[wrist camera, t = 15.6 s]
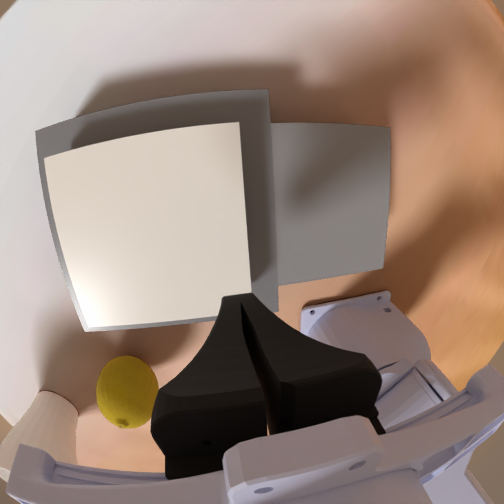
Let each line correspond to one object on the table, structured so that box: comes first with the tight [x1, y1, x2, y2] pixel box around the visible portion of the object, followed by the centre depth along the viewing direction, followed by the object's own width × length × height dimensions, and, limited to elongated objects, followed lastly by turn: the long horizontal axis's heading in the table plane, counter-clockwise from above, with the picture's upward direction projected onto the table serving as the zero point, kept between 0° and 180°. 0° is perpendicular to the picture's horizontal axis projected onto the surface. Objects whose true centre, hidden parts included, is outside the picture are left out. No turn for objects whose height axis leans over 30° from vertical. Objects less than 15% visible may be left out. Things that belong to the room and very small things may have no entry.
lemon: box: [96, 356, 159, 428], centre depth 21 cm, size 6×6×8 cm
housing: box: [35, 89, 391, 332], centre depth 18 cm, size 22×14×4 cm, turn 94°
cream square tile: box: [44, 122, 252, 327], centre depth 14 cm, size 10×10×2 cm
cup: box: [0, 391, 78, 483], centre depth 19 cm, size 10×10×14 cm
